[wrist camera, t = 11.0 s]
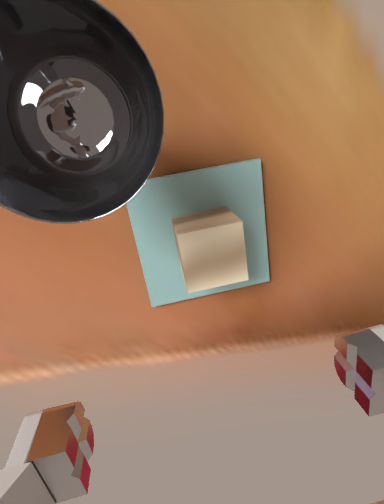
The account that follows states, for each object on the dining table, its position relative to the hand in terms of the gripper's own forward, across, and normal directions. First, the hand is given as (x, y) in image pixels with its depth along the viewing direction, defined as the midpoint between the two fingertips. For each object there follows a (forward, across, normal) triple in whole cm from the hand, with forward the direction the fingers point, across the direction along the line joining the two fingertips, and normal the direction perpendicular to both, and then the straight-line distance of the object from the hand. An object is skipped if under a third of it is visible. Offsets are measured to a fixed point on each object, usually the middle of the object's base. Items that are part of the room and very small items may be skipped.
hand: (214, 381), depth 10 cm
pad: (+20, -3, +3) cm, 21 cm away
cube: (+19, -3, +3) cm, 20 cm away
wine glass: (+21, +4, -8) cm, 22 cm away
